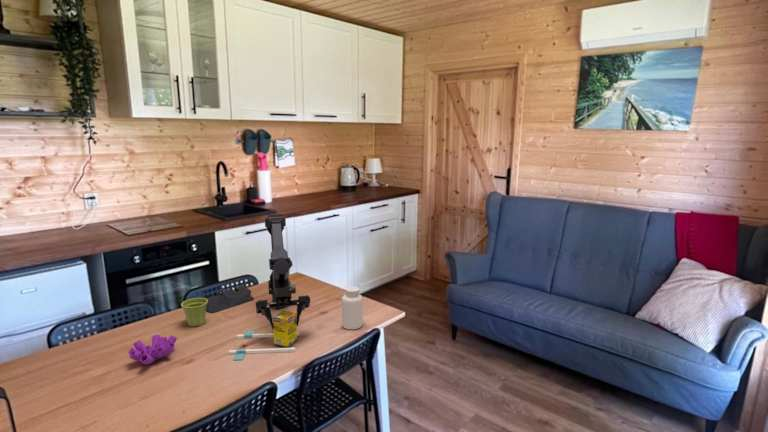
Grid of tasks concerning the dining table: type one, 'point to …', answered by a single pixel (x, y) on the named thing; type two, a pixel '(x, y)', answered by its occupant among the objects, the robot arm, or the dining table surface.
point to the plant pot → (195, 311)
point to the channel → (241, 352)
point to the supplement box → (285, 329)
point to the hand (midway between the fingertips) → (285, 327)
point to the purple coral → (152, 349)
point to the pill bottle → (352, 308)
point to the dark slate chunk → (229, 299)
